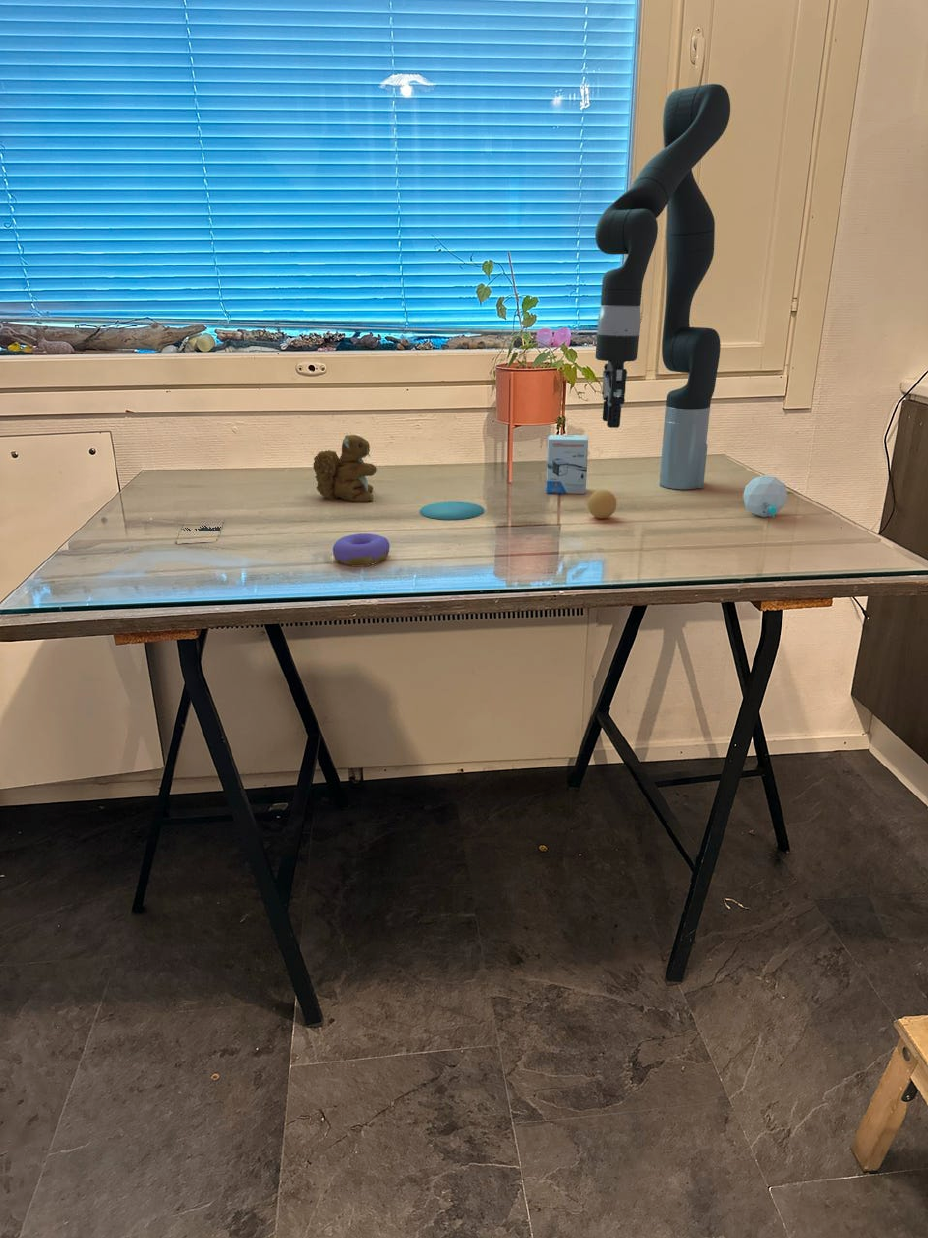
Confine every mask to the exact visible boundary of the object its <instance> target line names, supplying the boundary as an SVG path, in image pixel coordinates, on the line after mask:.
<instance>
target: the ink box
mask: <svg viewBox="0 0 928 1238" xmlns="http://www.w3.org/2000/svg"><path fill="white" fill-rule="evenodd" d="M588 448H589V439H588V436H587V435H582V434H581V435H577V434H576V435H574V434H573V435H572V434H550V435H548V436H547V456H546V482H545V483H546V485H545V486H546V487H545V491H546V494H569V495H571V494H573V495H574V494H577V495H579V494H582V495H583V494H586V491H587V475H588V474H587V472H588V456H589V455H588V454H589V450H588Z"/></svg>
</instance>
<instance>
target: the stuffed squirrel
mask: <svg viewBox="0 0 928 1238" xmlns="http://www.w3.org/2000/svg"><path fill="white" fill-rule="evenodd" d="M370 445H371V444H370V442H369V441H368V440H366V439H365V438H364V437H362V436H360V435H356V434H351V435H347V434H346V435H345V437H344V439H343V440H342V445H341V455H340V457H339V456H338V454H337V451H335V450H329V449H328V450H324V451H323V450H321V451H318V453H317V455H315V457H313V458H314V459H313V460H314V462H313V464H312V466H313V470H314V472H315V474H316V475H315V479H316V481H317V486H316V491H317V492H319V493H320V496H322V497H324V498H325V499H327V500H331V499H330V498H334V499H342V500H343V501H347V502H348V501H349V502H352V501H357V502H356V503H367V502H366V501H371V502H373V500H374V494H373V493H371V492H373V491H374V486H373V485H371V484H369V483H368V479H367V478H366V477H367V476H368V477H369V476H370V477H371V476H374V475H375V474H376V473H377V471H378V469H377V467H376V466H375V464H373V463H368V462H364V460H363V459H364V458H366V457H367V456H368V457H369V458H370V457H371V455H370V450H371V449H370V447H371V446H370ZM372 490H373V491H372ZM370 491H371V492H370ZM339 497H340V498H339ZM358 501H359V502H358Z"/></svg>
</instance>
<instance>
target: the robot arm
mask: <svg viewBox="0 0 928 1238" xmlns="http://www.w3.org/2000/svg"><path fill="white" fill-rule="evenodd" d="M662 114H663V116H662V117H663V118H662V132H663V146H664V147H663V149H662V150H661V151H659V152H658V153H657V154H656V155H654V156H653V157H652V158H651V159H649V161H647V163H646V164H645V165H644V166H643V168H642V169H641V170H640V172H639V174H638V175H637V176H636V178H635V180H634V181H633V183H632V184H631V187H630V188H629V189H628V190H626V191H625V192H624V193H623V194H621V195H620V196H619V197H618V198H617V199H616V200H615V201H613V202H612V203H611V204H610V205H609V206H608V207H607V208H605V210H604V211H603V213H602V214H601V216H600V217H599V219H598V221H597V224H596V229H595V232H594V233H595V243H596V246H597V248H598V249H599V250H600V251H601V252H602V253H604V254H606V255H616V256H617V255H627V258H626V259H625V261H624V263H623V265H621V266H620V267H617V268H614V269H609V270H608V271H605V273H604V275H603V276H602V283H601V296H600V308H599V314H598V318H597V330H596V331H597V333H596V342H595V344H596V345H595V359H596V360H598V361H604V362H607V363H605V364H604V367H603V369H604V370H603V371H602V384H601V385H602V386H601V387H602V388H601V389H602V391H601V394H602V400H603V411H602V420H603V421H604V422H607V423H606V425H607V427H608V428H609V429H610V428H613V429H614V428H615V429H617V428H619V427H620V426H621V415H622V414H621V413H622V408H623V405H624V404H625V403H626V402H625V400H626V399H625V395H626V384H627V383H626V382H627V378H628V371H627V369H626V368H624V367H625V366H624V365H625V362H634V361H636V360H637V359H638V353H639V352H638V351H639V342H640V331H641V330H640V329H641V303H642V292H643V282H644V278H645V275H646V273H647V269H648V265H649V262H650V261H651V260H650V259H651V257H652V253H653V252H654V249H655V245H656V242H657V239H658V231H659V226H658V220H657V218H659V217H660V216H661V214H662V213H663V211H664V210H665V208H666V232H665V233H666V237H665V239H666V240H665V241H666V242H665V243H666V244H665V245H666V246H665V247H666V248H665V250H666V254H665V255H666V257H665V258H666V259H665V260H666V291H665V294H666V295H665V309H664V320H663V331H662V341H661V342H662V344H661V352H662V353H661V355H662V357H661V358H662V361H663V364H664V367H665V368H666V369H667V370H668V371H669V372H673V373H682V374H684V373H685V374H688V380H687V381H686V384H685V385H684V386H681V387H680V388H676V389H672V390H670V391H669V392H668V393H667V395H666V400H665V414H664V425H663V426H664V427H663V437H662V448H661V449H662V451H661V460H660V461H661V462H660V463H661V464H660V473H659V485H660V486H661V487H665V488H667V489H674V490H694V489H704V482H705V474H706V462H707V457H708V456H707V453H708V443H707V442H708V432H709V431H708V430H709V424H710V423H709V422H710V421H709V420H710V411H711V403H712V398H713V395H714V392H715V388H716V385H717V384H716V383H717V375H718V369H719V366H720V365H719V364H720V358H721V357H720V356H721V347H722V345H721V344H722V343H721V338H720V337H721V336H720V335H719V332H718V331H717V330H716V329H714V328H712V327H702V326H701V327H699V326H698V327H697V326H691V325H690V324H691V323H690V318H691V316H690V315H691V307H692V302H693V299H694V298H695V294H696V292H697V290H698V288H699V287H700V285H701V283H702V281H703V279H704V277H706V274H707V273H708V270H709V269H710V267H711V264H712V262H713V260H714V255H715V238H716V236H715V235H716V234H715V233H716V229H715V228H716V222H715V221H716V220H715V217H714V214H713V211H712V208H711V207H710V204H709V203H708V201H707V199H706V198H705V196H704V194H703V192H702V191H701V189H700V186H699V185H698V183H697V182H696V179H695V176H694V173H693V170H692V169H693V168H695V166H696V165H697V164H698V163H699V162H700V161H701V160H702V158H703V157H704V156H705V155H706V154H707V153H708V152H709V151H710V150H711V149H712V148H713V146H714V145H715V144H716V143H717V142H718V141H719V140H720V138H721V137H722V136H723V134H724V132H725V131H726V129H727V127H728V123H729V121H730V116H731V115H730V114H731V101H730V96H729V93H728V91H727V89H726V88H725V87H724V86H723V85H722V84H717V83H710V84H702V85H697V86H691V87H686V88H681V89H677V90H673V91H671V92H670V93H669V94H668V96H667V98H666V101H665V103H664V107H663V113H662Z"/></svg>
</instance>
